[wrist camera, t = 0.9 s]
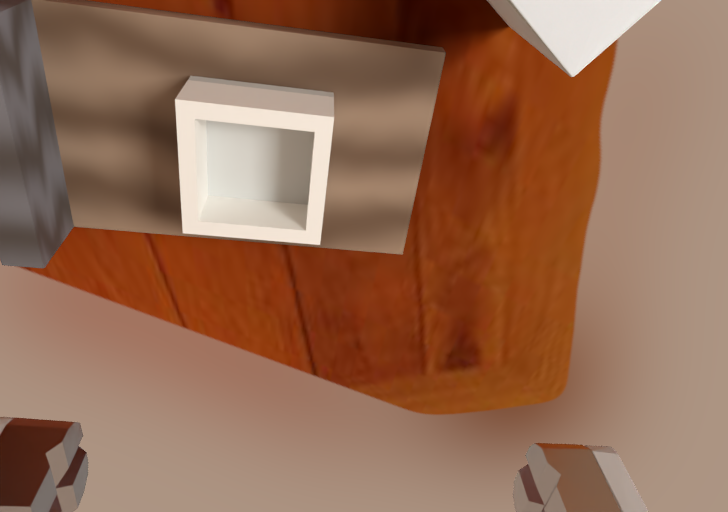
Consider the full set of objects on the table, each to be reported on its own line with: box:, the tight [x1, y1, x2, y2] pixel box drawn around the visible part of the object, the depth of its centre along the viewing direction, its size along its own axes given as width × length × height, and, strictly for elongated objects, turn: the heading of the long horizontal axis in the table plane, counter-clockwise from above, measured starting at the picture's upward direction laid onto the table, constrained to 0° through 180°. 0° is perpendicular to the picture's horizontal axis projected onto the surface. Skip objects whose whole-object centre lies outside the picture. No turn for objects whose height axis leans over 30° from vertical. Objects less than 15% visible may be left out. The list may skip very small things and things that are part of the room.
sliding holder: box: [175, 76, 334, 245], centre depth 42 cm, size 10×10×5 cm
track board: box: [0, 0, 446, 268], centre depth 42 cm, size 18×32×8 cm, turn 82°
